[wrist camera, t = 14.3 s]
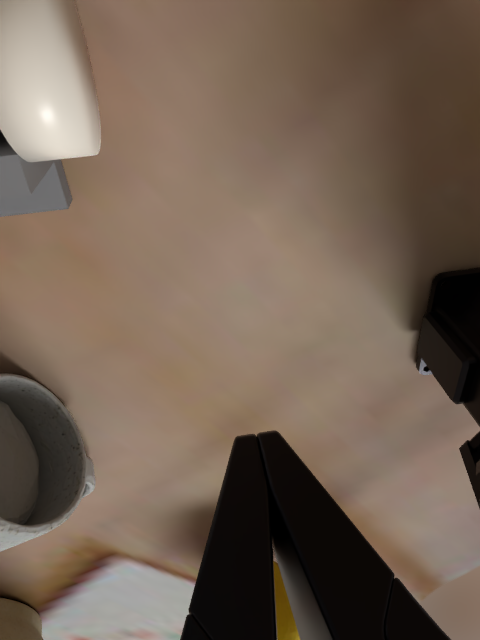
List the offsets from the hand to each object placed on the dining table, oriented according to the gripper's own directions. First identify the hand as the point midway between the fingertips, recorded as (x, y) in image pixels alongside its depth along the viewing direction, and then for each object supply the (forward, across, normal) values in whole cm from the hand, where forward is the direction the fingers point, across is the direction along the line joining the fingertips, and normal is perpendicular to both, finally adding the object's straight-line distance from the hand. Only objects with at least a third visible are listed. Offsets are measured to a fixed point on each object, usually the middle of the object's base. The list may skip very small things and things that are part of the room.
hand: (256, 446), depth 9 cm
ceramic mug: (+13, +12, +12) cm, 21 cm away
